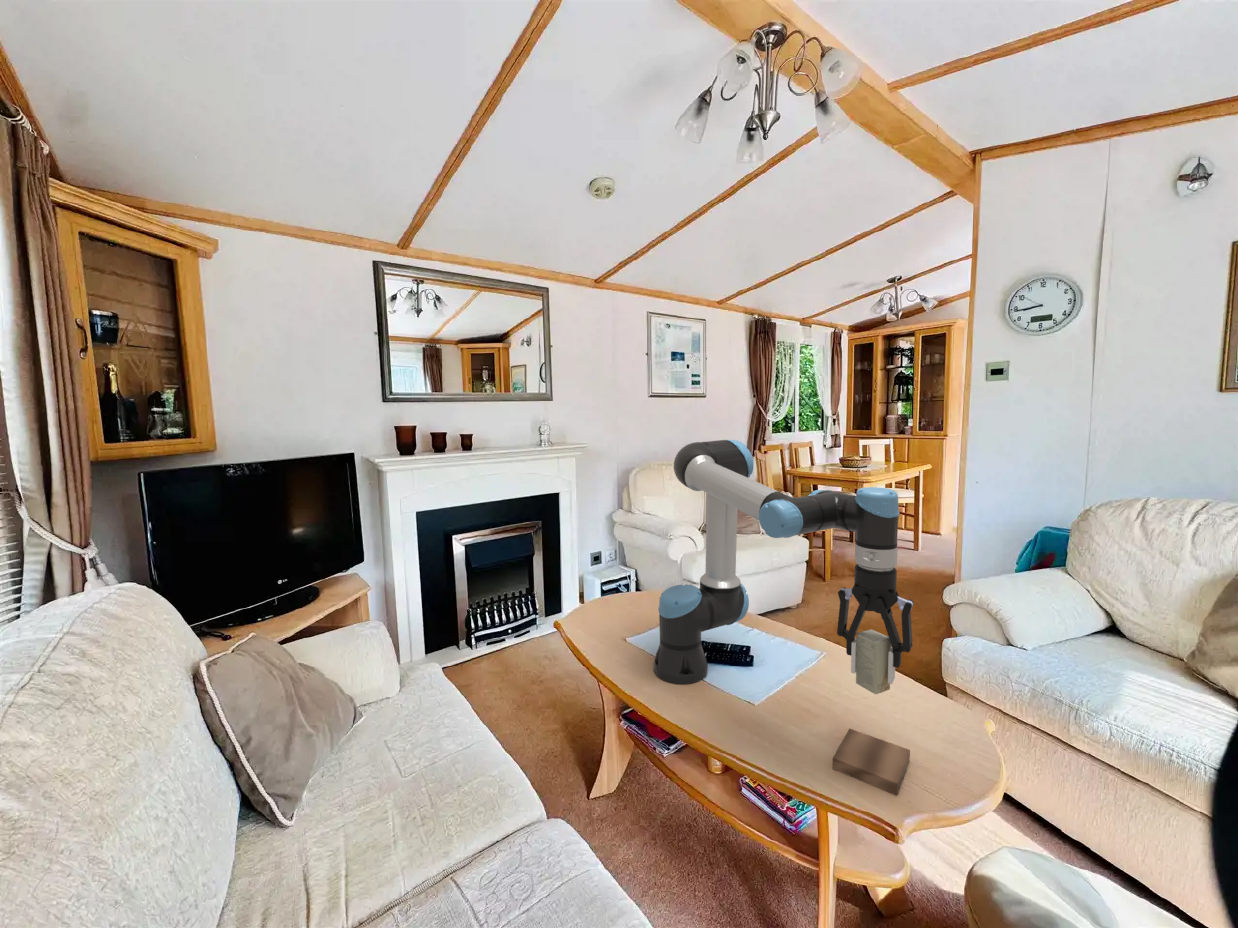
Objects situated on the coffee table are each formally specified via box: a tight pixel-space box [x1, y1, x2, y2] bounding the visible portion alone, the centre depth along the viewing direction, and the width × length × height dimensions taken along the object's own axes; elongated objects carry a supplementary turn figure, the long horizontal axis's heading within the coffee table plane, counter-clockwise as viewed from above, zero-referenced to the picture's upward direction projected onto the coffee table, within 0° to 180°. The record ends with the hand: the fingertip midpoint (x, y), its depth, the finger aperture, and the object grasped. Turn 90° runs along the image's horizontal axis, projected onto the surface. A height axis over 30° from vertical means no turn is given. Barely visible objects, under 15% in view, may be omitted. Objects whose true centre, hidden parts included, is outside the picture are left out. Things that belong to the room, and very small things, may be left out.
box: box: [855, 628, 892, 695], centre depth 106 cm, size 5×4×11 cm
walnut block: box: [832, 728, 911, 796], centre depth 108 cm, size 12×12×3 cm
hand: (872, 675), depth 106 cm, fingers closed on box, 6 cm apart
